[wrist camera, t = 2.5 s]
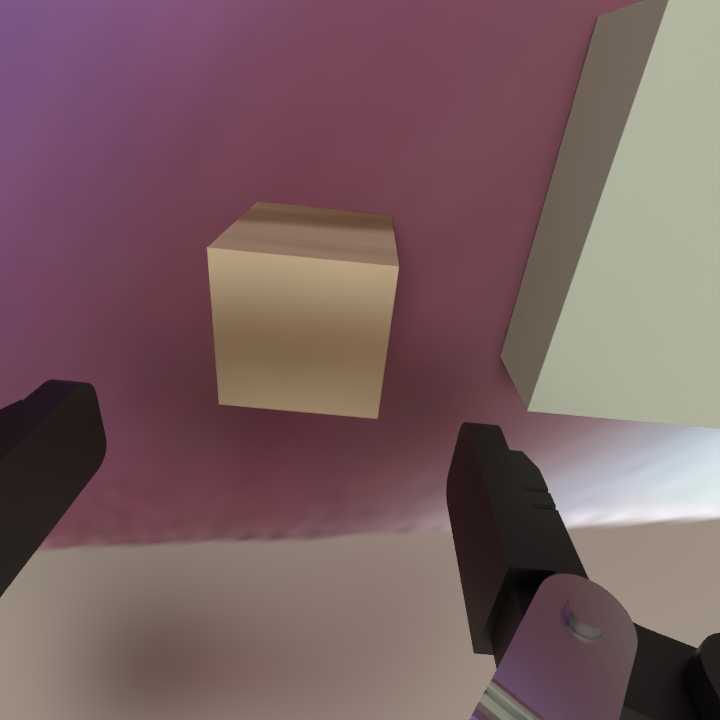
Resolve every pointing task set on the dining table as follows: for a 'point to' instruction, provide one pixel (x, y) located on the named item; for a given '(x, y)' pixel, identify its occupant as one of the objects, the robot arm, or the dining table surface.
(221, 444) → the dining table surface
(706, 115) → the sage plinth
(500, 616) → the robot arm
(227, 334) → the maple block
